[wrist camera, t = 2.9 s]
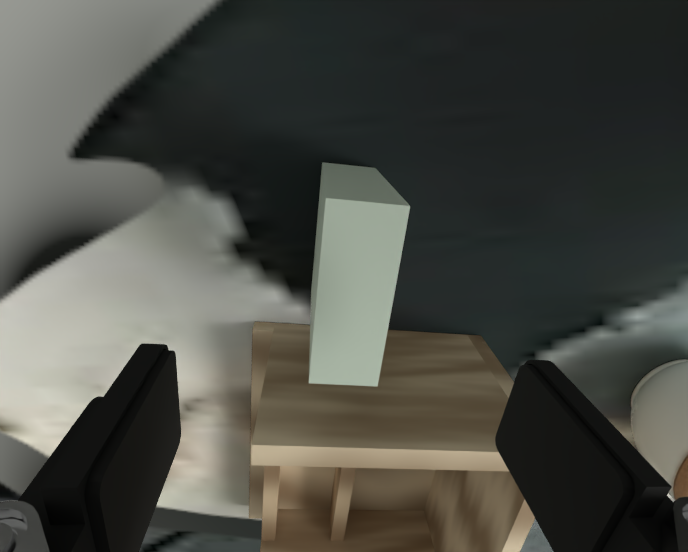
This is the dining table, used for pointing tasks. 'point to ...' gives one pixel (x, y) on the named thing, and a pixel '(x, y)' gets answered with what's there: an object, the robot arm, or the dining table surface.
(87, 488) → the robot arm
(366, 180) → the rectangular block
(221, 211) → the dining table surface
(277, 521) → the cabinet frame
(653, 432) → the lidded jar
